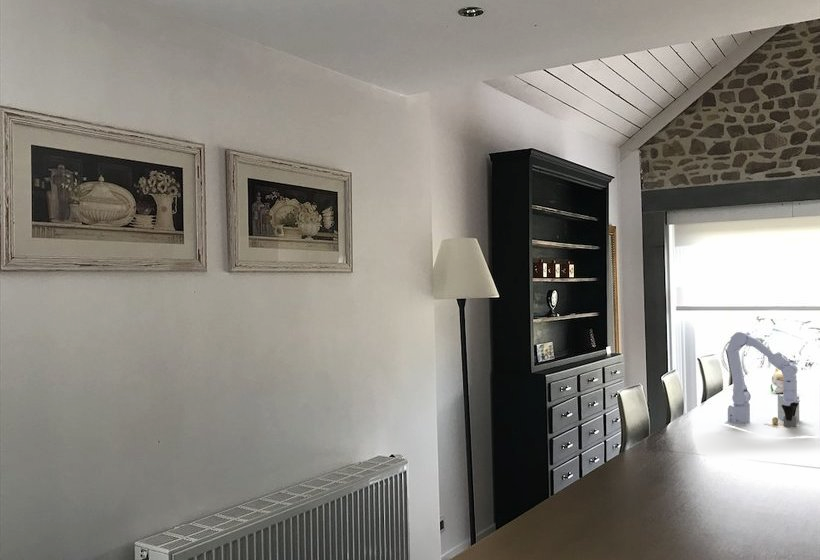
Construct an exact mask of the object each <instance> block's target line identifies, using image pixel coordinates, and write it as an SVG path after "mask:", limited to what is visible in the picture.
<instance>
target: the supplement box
mask: <svg viewBox="0 0 820 560" xmlns="http://www.w3.org/2000/svg"><path fill="white" fill-rule="evenodd" d="M797 400H800V396H798V395H797ZM797 403H799V404H798V406H797V408H796V412H795V416H796V418H797V422H798V421H800V402H797ZM782 405H785V402H784V401H783V394H777V418H778V420H779V419H780V420H781V421H784V416H785V413H784V410H783V408H782Z"/></svg>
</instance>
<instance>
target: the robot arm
mask: <svg viewBox="0 0 820 560" xmlns="http://www.w3.org/2000/svg"><path fill="white" fill-rule="evenodd" d="M744 346H746V347H747V346H748V347H752V348H755V349H756V350H757V351H759V352H760V353H761V354H763V355H764V356H766V357H767V360H768V362H769V363H770V364H771V365H773V366H774V367H775V369H776V368H777V369H779V370H780V371H781V372H782V374H783V394H782V395H783V401H784V402H785V405H782V408H783V410H784V413H785V417H786V420H788V421H792V416H795V412H796V408H797V406H798V404H799V405H800V401H801V400H800V399H799V400H797V396H798V384H797V383H798V381H797V374H798V367H797V365H796V364H795V363H792V362H791V360H787V359H786V358H785V357H784V356H783V353H781V352H777V351H774V352H773V351H772V350H771V349H769V348H768V347H767V346H766V345H765V344H764V343H763V342H761V341H760V340H759V339H758V338H757V337H755V336H754V335H753V334H750V332H749V331H746V330H742V331H737V332H735V333H733V335H731V337H730V340H729V343H728V345H727V347H726V352H727V353H726V354H727V357H728V363H729V368H730V373H731V377H732V383H733V387H732V392H733V393H732V396H731V397H732V398H731V399H732V402H733V403H732V404H730V405H729V406H728V407H727V422H731V423H734V424H736V423H737V424H738V423H740V424H741V423H751V405H750V402H749V401H750V400H751V398H752V397H751V393H750V392H749V390H748V387H747V385H746V383H745V378H744V372H743V366H742V362H741V357H740V350H741V349H742V348H743V347H744ZM797 402H799V403H797Z"/></svg>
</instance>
